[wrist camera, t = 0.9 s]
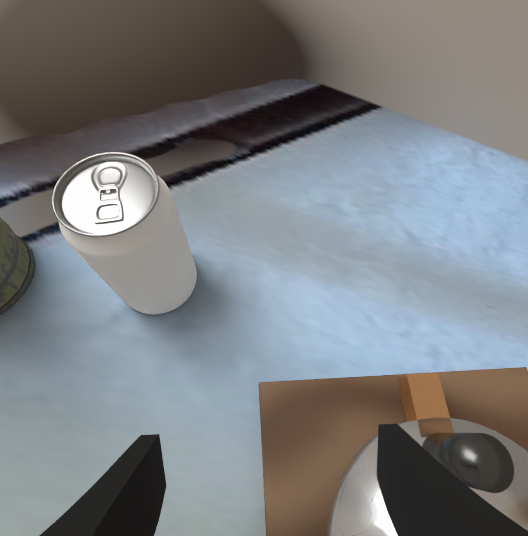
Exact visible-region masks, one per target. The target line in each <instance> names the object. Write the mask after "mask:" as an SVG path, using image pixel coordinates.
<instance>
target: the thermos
mask: <svg viewBox="0 0 528 536" xmlns="http://www.w3.org/2000/svg"><path fill="white" fill-rule="evenodd" d="M34 266H35V261H34V257H33V253H32V250H31V249H30V247H29V246H28V245H27V244H26V242H25V241H24V240H23V239H22V238H20V237H19V236H17V235H15V233H14V232H13V231H12V229H11V228H10V227H9V225H8V224H7V223H6V222H4V221H3V220H2V219H1V218H0V314H2V313H3V312H5V311H6V310H7V309H9V308H10V307H12V306H13V305H14V304H15V303H16V302H17V301H18V300H19V298H20V297H21V296H22V295H23V294H24V293H25V291H26V290H27V288H28V286H29V284H30V282H31V280H32V278H33V272H34Z"/></svg>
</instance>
